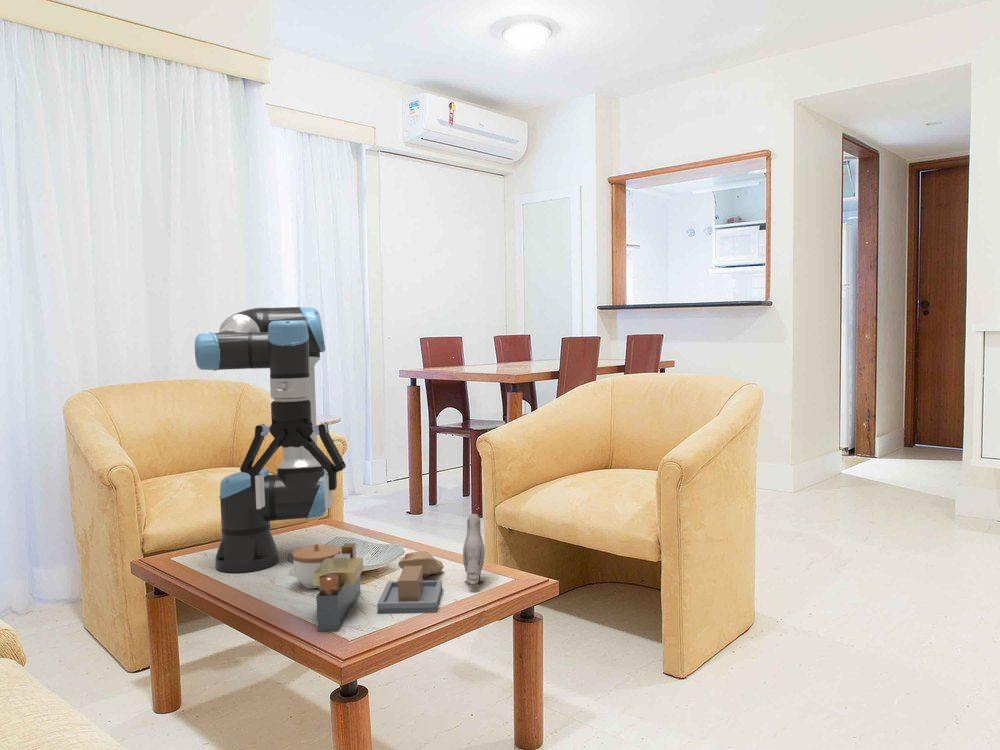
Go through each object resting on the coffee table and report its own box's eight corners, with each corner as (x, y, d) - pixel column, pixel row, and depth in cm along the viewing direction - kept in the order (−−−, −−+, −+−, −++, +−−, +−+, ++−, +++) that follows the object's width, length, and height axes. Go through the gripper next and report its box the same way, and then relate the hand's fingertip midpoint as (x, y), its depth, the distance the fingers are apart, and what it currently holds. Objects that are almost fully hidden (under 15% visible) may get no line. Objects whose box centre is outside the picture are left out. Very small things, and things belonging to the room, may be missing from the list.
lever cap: (325, 570, 159) (325, 552, 159) (363, 569, 159) (362, 552, 158) (313, 585, 149) (313, 567, 149) (353, 584, 149) (353, 566, 148)
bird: (486, 573, 176) (484, 510, 176) (483, 592, 163) (482, 524, 162) (465, 573, 177) (464, 510, 176) (461, 592, 163) (459, 525, 162)
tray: (388, 590, 166) (387, 563, 166) (442, 589, 166) (441, 562, 166) (377, 613, 152) (376, 584, 152) (436, 612, 152) (435, 583, 152)
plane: (342, 592, 165) (340, 543, 164) (360, 592, 165) (358, 543, 164) (317, 631, 143) (315, 575, 143) (338, 631, 143) (336, 574, 142)
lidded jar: (351, 580, 173) (349, 540, 173) (319, 595, 164) (318, 553, 163) (316, 574, 178) (314, 535, 178) (283, 588, 169) (281, 547, 168)
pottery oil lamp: (455, 574, 176) (455, 545, 175) (418, 588, 167) (417, 557, 166) (429, 568, 181) (429, 539, 181) (392, 580, 172) (391, 550, 172)
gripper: (220, 402, 143) (224, 512, 144) (349, 399, 142) (352, 510, 143) (235, 399, 150) (239, 503, 151) (358, 396, 149) (361, 502, 150)
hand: (294, 507), depth 147 cm, fingers open, 13 cm apart
